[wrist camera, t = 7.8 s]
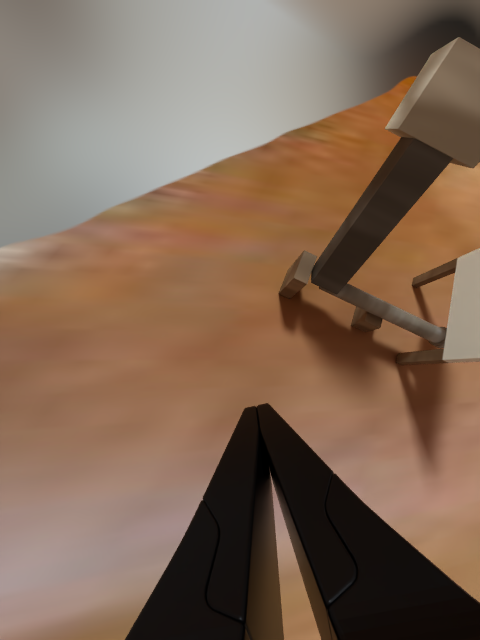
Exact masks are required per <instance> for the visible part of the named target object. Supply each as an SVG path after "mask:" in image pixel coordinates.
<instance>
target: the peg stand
mask: <svg viewBox="0 0 480 640" xmlns="http://www.w3.org/2000/svg"><path fill="white" fill-rule="evenodd" d="M316 258H317V256H315V255H313V254H311V253H309V252H307V251H305V250H304V251H303V253H302V254H301V255H300V256H299V257H298V259H297V260H296V261H295V262H294V263H293V265H292V266H291V267H290V268H289V269H288V271H287V274H286V276H285V279H284V281H283V284H282V286H281V289H280V291H279V294H280V295H283V296H285V297H287V298H289V299H290V298H291V297H292V296H294V295H295V294H296V293H297V292H298V291H299V290H301V289H302V288H303V287H304V286H305V285H306V284H307V283H308V280H309V277H310V274H311V272H312V269H313V266H314V263H315V260H316ZM456 265H457V259H454V260H452V261H450V262H448V263H446V264H443V265H441V266H439V267H437V268H434V269H432V270H430V271H428V272H426V273H423V274H421V275H419V276H417V277H415V278H414V279H413V283H412V286H414V287H416V288H417V287H420V286H422V285H425V284H427V283H430V282H432V281H435V280H437V279H440V278H442V277H445V276H447V275H450V274H452V273H455V271H456ZM381 323H382V318H380V317H378V316H376V315H374V314H372V313H370V312H367V311H365V310H363V309H361V308H359V307H357V306H356V310H355V313H354V317H353V320H352V324H351V326H353V327H355V328H358V329H360V330H362V331H364V332H367V331H371V330H375V329H379V328H380V327H381ZM443 352H444V349H435V350H425V351H416V352H406V353H398V355H397V360H396V363H398V364H400V365H415V364H437V363H448V362H446V361H443V360H442V359H443Z"/></svg>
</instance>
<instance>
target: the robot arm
mask: <svg viewBox="0 0 480 640" xmlns="http://www.w3.org/2000/svg"><path fill="white" fill-rule="evenodd" d="M270 473H271V475H270ZM271 477H272V480H273V484H274V487H275V491H276V494H277V497H278V500H279V504H280V507H281V510H282V513H283V517H284V520H285V523H286V526H287V529H288V533H289V536H290V539H291V542H292V546H293V549H294V552H295V555H296V559H297V562H298V565H299V568H300V572H301V575H302V578H303V581H304V585H305V588H306V591H307V594H308V598H309V601H310V604H311V607H312V611H313V614H314V617H315V620H316V623H317V627H318V630H319V633H320V636H321V640H480V603H479V602H478V601H477V600H476V599H474V598H473V597H472V596H470V595H469V594H468V593H467V592H466V591H465V590H463V589H462V588H461V587H460V586H459V585H457V584H456V583H455V582H454V581H453V580H452V579H450V578H449V577H448V576H447V575H446V574H445V573H444V572H442V571H441V570H440V569H439V568H438V567H437V566H435V565H434V564H433V563H432V562H431V561H430V560H428V559H427V558H426V557H425V556H424V555H423V554H422V553H420V552H419V551H418V550H417V549H416V548H415V547H413V546H412V545H411V544H410V543H409V542H408V541H406V540H405V539H404V538H403V537H402V536H401V535H400V534H398V533H397V532H396V531H395V530H394V529H393V528H391V527H390V526H389V525H388V524H387V523H386V522H385V521H384V520H382V519H381V518H380V517H379V516H378V515H377V514H376V513H375V512H374V511H372V510H371V509H370V508H369V507H368V506H367V505H366V504H365V503H364V502H363V501H362V500H361V499H360V498H359V497H358V496H357V495H356V494H355V493H354V492H353V491H352V490H351V489H350V488H349V487H348V486H347V485H346V484H345V483H344V482H343V481H342V480H341V479H340V478H339V477H338V476H337V475H336V474H334V473H333V471H332V470H331V469H330V468H329V467H328V466H327V465H326V464H325V463H324V461H323V460H322V459H321V458H320V457H319V456H318V455H317V454H316V453H315V452H314V451H313V450H312V449H311V448H310V447H309V446H308V445H307V444H306V443H305V441H304V440H303V439H302V438H301V437H300V436H299V435H298V434H297V433H296V432H295V431H294V430H293V429H292V428H291V427H290V426H289V425H288V424H287V423H286V421H285V420H284V419H283V418H282V417H281V416H280V415H279V414H278V413H277V412H276V411H275V410H274V409H273V408H272V407H271V406H270V405H269V404H268V403H266V404H261V405H258V406H257V407H256V406H252V407H247V408H245V409H244V411H243V413H242V415H241V417H240V419H239V421H238V424H237V426H236V428H235V430H234V432H233V434H232V436H231V439H230V441H229V443H228V445H227V447H226V449H225V451H224V453H223V456H222V458H221V460H220V462H219V464H218V466H217V468H216V471H215V473H214V475H213V477H212V479H211V481H210V483H209V485H208V488H207V490H206V492H205V494H204V496H203V500H202V501H201V502H200V504H199V507H198V509H197V511H196V513H195V515H194V517H193V519H192V521H191V523H190V525H189V527H188V529H187V531H186V533H185V535H184V537H183V539H182V541H181V543H180V545H179V546H178V548H177V550H176V552H175V554H174V555H173V557H172V559H171V561H170V563H169V564H168V566H167V568H166V570H165V571H164V573H163V575H162V576H161V578H160V580H159V582H158V583H157V585H156V587H155V589H154V590H153V592H152V594H151V595H150V597H149V599H148V601H147V602H146V604H145V606H144V608H143V609H142V611H141V613H140V614H139V616H138V618H137V620H136V621H135V623H134V625H133V627H132V628H131V630H130V632H129V633H128V635H127V637H126V639H125V640H284V634H283V621H282V609H281V596H280V584H279V571H278V558H277V546H276V533H275V520H274V508H273V495H272V483H271Z"/></svg>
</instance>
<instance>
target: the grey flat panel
mask: <svg viewBox="0 0 480 640" xmlns="http://www.w3.org/2000/svg"><path fill="white" fill-rule="evenodd" d="M442 360H443V361H446V362H448V363H460V362H480V248H479V249H476V250H474V251H472V252H470V253H468V254H465V255H463V256H461V257H459V258H457V265H456V271H455V278H454V285H453V291H452V298H451V305H450V312H449V318H448V325H447V332H446V338H445V345H444V352H443V359H442Z"/></svg>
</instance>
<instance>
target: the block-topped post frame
mask: <svg viewBox="0 0 480 640" xmlns="http://www.w3.org/2000/svg"><path fill="white" fill-rule="evenodd" d="M385 129H386V130H388V131H390V132H392V133H394V134H396V135H398V136H399V137H401V139H400V140H399V142H398V143H397V144H396V146H395V147H394V149H393V150H392V152H391V153H390V155H389V156H388V158H387V159H386V161H385V162H384V164H383V165H382V166H381V168H380V169H379V171H378V172H377V174H376V175H375V177H374V178H373V180H372V181H371V183H370V184H369V186H368V187H367V188H366V190H365V191H364V193H363V194H362V196H361V197H360V199H359V200H358V202H357V203H356V205H355V206H354V208H353V209H352V211H351V212H350V213H349V215H348V216H347V218H346V219H345V221H344V222H343V224H342V225H341V227H340V228H339V230H338V231H337V233H336V234H335V235H334V237H333V238H332V240H331V241H330V243H329V244H328V246H327V247H326V249H325V250H324V252H323V253H322V255H321V256H320V257H319V259H318V260H317V262H316V263H315V265H314V266H313V269H312V272H311V283H313V284H315V285H317V286H319V289H321V290H323V291H325V292H327V293H329V294H332V295H334V296H336V297H338V298H340V299H342V300H344V301H346V302H348V303H351V304H353V305H355V306H357V307H359V308H361V309H363V310H365V311H367V312H370V313H372V314H374V315H376V316H378V317H380V318H382V319H384V320H387V321H389V322H391V323H393V324H395V325H397V326H399V327H401V328H403V329H406V330H408V331H410V332H412V333H414V334H416V335H418V336H420V337H422V338H425V339H427V340H429V342H430V344H432V345H434V346H436V347H438V348H444V345H445V338H446V332H447V328H445V327H437V326H435V325H433V324H431V323H429V322H427V321H425V320H423V319H421V318H419V317H416V316H414V315H412V314H410V313H408V312H406V311H404V310H402V309H400V308H398V307H396V306H393V305H391V304H389V303H387V302H385V301H383V300H381V299H379V298H377V297H375V296H373V295H370V294H368V293H366V292H364V291H362V290H360V289H358V288H356V287H354V286H352V285H350V284H347V282H348V281H349V280H350V279H351V278H352V277H353V275H354V274H355V273H356V272H357V271H358V270H359V268H360V267H361V266H362V265H363V264H364V262H365V261H366V260H367V259H368V258H369V257H370V255H371V254H372V253H373V252H374V251H375V250H376V248H377V247H378V246H379V245H380V244H381V243H382V241H383V240H384V239H385V238H386V237H387V236H388V234H389V233H390V232H391V231H392V230H393V228H394V227H395V226H396V225H397V224H398V223H399V221H400V220H401V219H402V218H403V217H404V216H405V214H406V213H407V212H408V211H409V210H410V209H411V207H412V206H413V205H414V204H415V203H416V202H417V200H418V199H419V198H420V197H421V196H422V194H423V193H424V192H425V191H426V190H427V189H428V187H429V186H430V185H431V184H432V183H433V182H434V180H435V179H436V178H437V177H438V176H439V175H440V173H441V172H442V171H443V170H444V169H445V168H446V166H447V165H448V164H449V163H453V164H457V165H461V166H465V167H469V168H474V167H475V166H476V165H477V164H478V163H479V162H480V49H479V48H477V47H475V46H473V45H472V44H470V43H468V42H467V41H465V40H463V39H461V38H460V37H458V38H457V39H455V40H453V41H452V42H450V43H449V44H447V45H446V46H444V47H442V48H441V49H439V50H437V51H436V52H434V53H433V54H431V56H430V57H429V59H428V61H427V62H426V64H425V66H424V67H423V69H422V70H421V72H420V73H419V75H418V76H417V78H416V80H415V81H414V83H413V84H412V86H411V88H410V89H409V91H408V92H407V94H406V96H405V97H404V99H403V100H402V102H401V104H400V105H399V107H398V108H397V110H396V112H395V113H394V115H393V116H392V118H391V120H390V121H389V123H388V124H387V126H386V128H385Z"/></svg>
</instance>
